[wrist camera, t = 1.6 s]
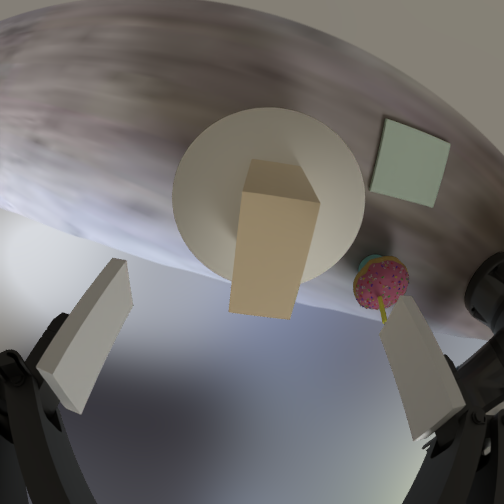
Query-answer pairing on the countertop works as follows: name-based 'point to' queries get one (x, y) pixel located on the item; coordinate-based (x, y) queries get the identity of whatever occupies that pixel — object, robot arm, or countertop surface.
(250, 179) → the lid
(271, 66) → the countertop surface
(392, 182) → the mat
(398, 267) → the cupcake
